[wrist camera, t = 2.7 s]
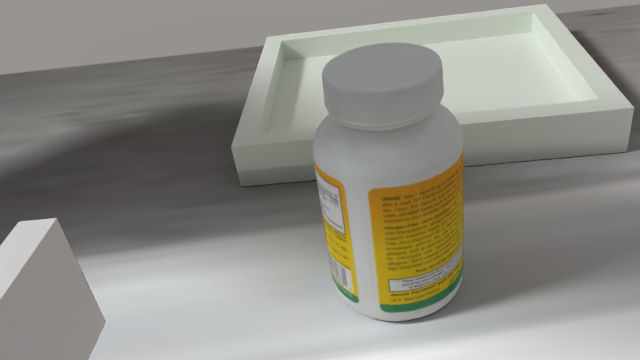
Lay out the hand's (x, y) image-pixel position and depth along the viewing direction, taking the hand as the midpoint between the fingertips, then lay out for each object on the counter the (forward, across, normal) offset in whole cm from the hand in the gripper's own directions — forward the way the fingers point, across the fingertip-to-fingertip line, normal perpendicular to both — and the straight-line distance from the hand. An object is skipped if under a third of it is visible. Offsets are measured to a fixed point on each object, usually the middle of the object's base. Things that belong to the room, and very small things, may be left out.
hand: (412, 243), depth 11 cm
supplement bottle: (+10, 0, -10) cm, 15 cm away
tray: (+26, +2, -10) cm, 28 cm away
